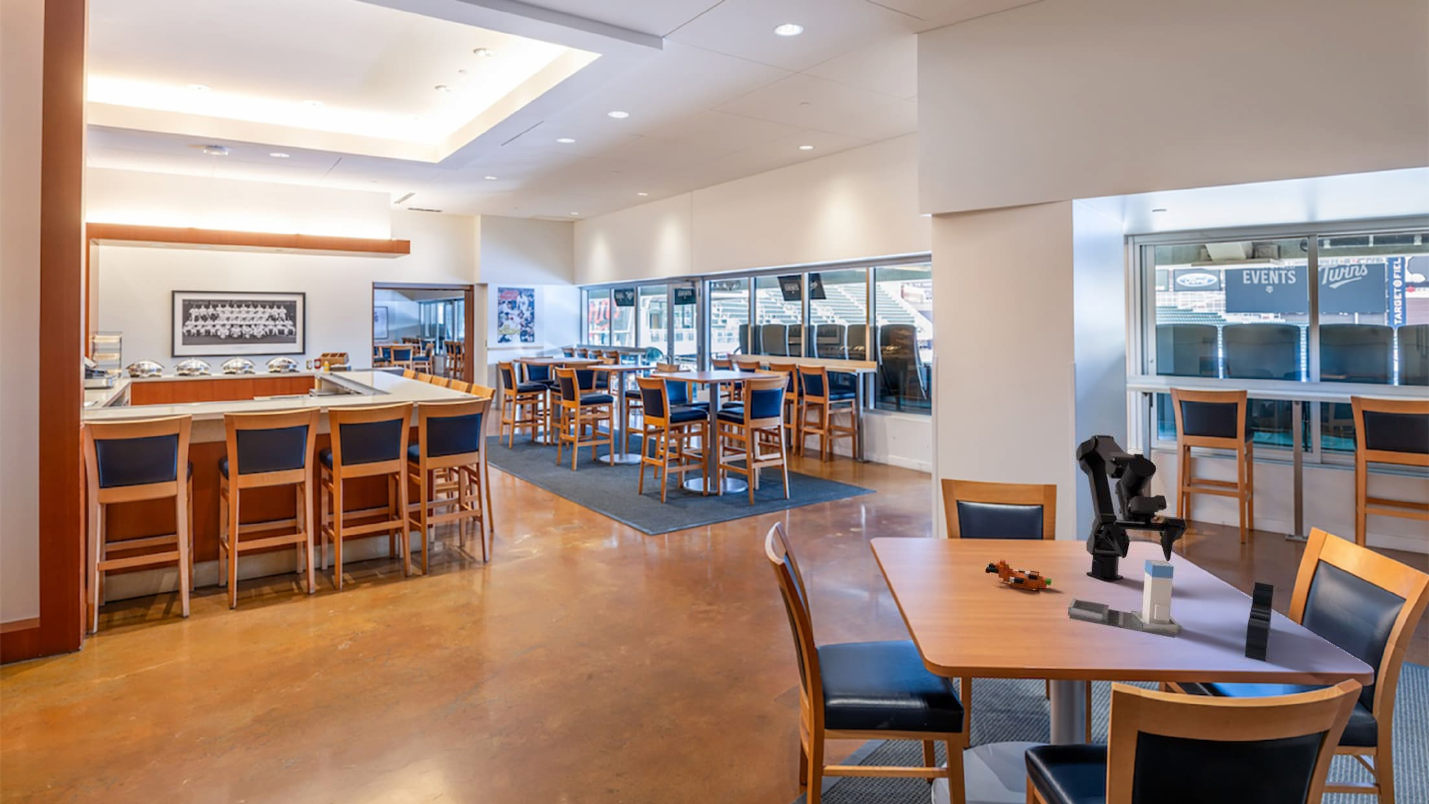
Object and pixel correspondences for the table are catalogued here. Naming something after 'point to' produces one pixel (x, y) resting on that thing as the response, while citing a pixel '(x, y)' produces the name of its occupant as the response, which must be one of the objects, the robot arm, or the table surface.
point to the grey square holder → (1088, 614)
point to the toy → (1018, 576)
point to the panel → (1119, 621)
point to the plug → (1157, 591)
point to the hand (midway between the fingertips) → (1146, 558)
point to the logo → (1259, 622)
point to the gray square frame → (1155, 624)
